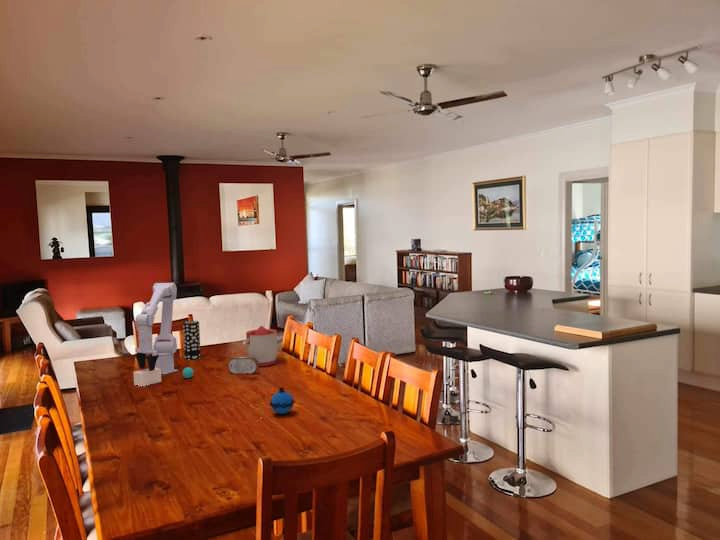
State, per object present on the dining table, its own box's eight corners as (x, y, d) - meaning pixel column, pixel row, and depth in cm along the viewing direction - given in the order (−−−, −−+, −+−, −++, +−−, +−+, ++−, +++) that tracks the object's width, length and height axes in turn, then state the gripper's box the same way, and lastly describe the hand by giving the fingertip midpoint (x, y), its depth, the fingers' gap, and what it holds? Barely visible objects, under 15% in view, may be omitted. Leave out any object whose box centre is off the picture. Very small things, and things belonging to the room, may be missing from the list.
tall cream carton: (134, 384, 240) (133, 371, 240) (154, 379, 248) (153, 367, 248) (141, 387, 237) (140, 373, 236) (161, 381, 245) (160, 368, 244)
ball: (180, 378, 249) (179, 367, 249) (189, 375, 253) (189, 365, 253) (186, 379, 246) (186, 369, 246) (196, 377, 250) (195, 367, 250)
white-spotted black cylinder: (195, 360, 283) (194, 323, 282) (181, 360, 285) (179, 323, 283) (203, 357, 291) (201, 321, 290) (189, 356, 293) (187, 320, 292)
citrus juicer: (241, 363, 275) (239, 325, 274) (273, 359, 283) (272, 322, 281) (247, 370, 261) (246, 330, 260) (282, 365, 269) (280, 326, 267)
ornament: (298, 411, 199) (297, 385, 198) (284, 419, 192) (283, 392, 191) (280, 408, 203) (279, 382, 203) (265, 415, 196) (264, 388, 195)
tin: (259, 373, 256) (259, 355, 255) (257, 374, 252) (257, 357, 252) (229, 373, 257) (228, 355, 256) (227, 374, 254) (226, 357, 253)
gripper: (128, 339, 242) (130, 369, 243) (146, 343, 233) (148, 373, 234) (142, 337, 248) (144, 365, 249) (160, 340, 239) (162, 370, 240)
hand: (147, 369), depth 242 cm, fingers open, 7 cm apart
